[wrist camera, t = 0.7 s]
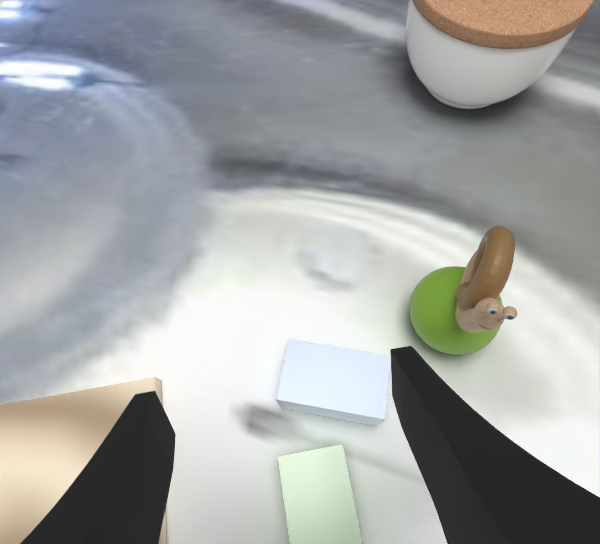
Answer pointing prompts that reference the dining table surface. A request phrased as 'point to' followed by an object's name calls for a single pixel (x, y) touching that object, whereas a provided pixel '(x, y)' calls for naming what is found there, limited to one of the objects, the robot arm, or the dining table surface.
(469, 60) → the lidded bowl
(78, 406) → the birch board
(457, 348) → the snail figurine
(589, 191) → the dining table surface
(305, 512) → the green brick
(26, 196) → the dining table surface
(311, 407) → the blue brick
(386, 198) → the dining table surface
